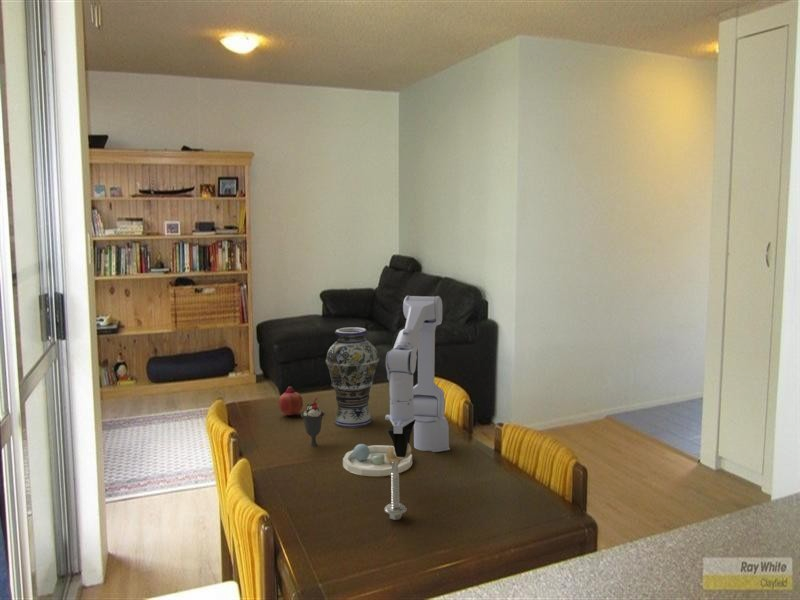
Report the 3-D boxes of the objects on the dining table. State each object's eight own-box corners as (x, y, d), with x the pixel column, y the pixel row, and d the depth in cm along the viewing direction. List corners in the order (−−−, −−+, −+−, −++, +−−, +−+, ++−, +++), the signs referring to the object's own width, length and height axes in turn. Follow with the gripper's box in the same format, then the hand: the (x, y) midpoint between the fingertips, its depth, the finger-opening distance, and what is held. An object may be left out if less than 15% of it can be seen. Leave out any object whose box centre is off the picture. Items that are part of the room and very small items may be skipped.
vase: (390, 418, 216) (388, 327, 212) (359, 433, 201) (357, 336, 197) (349, 411, 225) (347, 323, 221) (316, 425, 210) (313, 331, 206)
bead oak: (391, 460, 178) (388, 444, 177) (406, 459, 176) (403, 444, 176) (384, 466, 174) (382, 450, 173) (400, 466, 172) (397, 450, 172)
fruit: (274, 418, 218) (273, 388, 216) (285, 411, 225) (284, 382, 224) (296, 420, 215) (295, 390, 214) (307, 413, 223) (306, 384, 222)
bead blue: (366, 456, 180) (366, 440, 180) (372, 461, 176) (371, 445, 176) (351, 458, 179) (350, 442, 178) (356, 464, 175) (356, 448, 174)
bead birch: (407, 454, 164) (407, 437, 164) (414, 460, 160) (414, 442, 160) (390, 456, 163) (390, 439, 162) (397, 462, 159) (397, 445, 158)
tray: (396, 449, 188) (396, 440, 187) (423, 472, 171) (423, 462, 171) (334, 459, 181) (334, 449, 181) (355, 483, 164) (355, 473, 164)
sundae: (321, 452, 186) (320, 400, 184) (298, 451, 187) (297, 399, 185) (328, 444, 192) (327, 394, 190) (306, 443, 194) (305, 393, 192)
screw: (410, 519, 144) (389, 524, 143) (401, 510, 149) (381, 515, 147) (409, 462, 143) (388, 466, 141) (400, 455, 147) (380, 458, 145)
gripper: (389, 390, 167) (390, 442, 169) (380, 406, 153) (381, 463, 155) (417, 390, 166) (418, 442, 168) (410, 407, 152) (411, 464, 154)
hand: (402, 452), depth 161 cm, fingers closed on bead birch, 4 cm apart
